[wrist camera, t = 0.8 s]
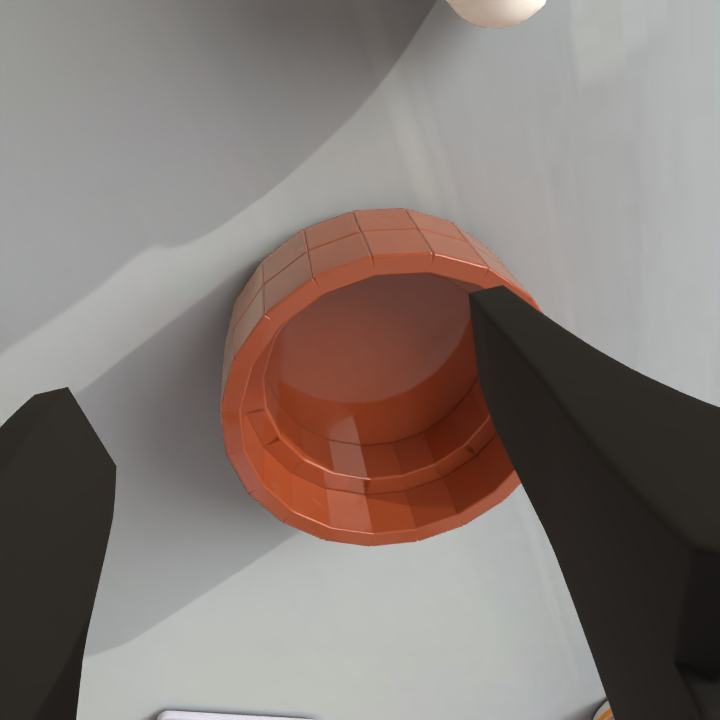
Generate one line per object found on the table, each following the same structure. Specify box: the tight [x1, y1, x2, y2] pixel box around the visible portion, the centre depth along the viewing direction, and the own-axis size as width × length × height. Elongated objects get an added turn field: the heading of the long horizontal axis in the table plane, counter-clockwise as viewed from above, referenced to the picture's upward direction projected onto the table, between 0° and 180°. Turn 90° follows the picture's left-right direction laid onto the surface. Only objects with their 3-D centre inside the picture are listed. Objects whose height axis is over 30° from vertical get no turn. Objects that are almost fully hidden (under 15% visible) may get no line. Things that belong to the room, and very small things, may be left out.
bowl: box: [220, 208, 542, 546], centre depth 22 cm, size 10×10×4 cm
